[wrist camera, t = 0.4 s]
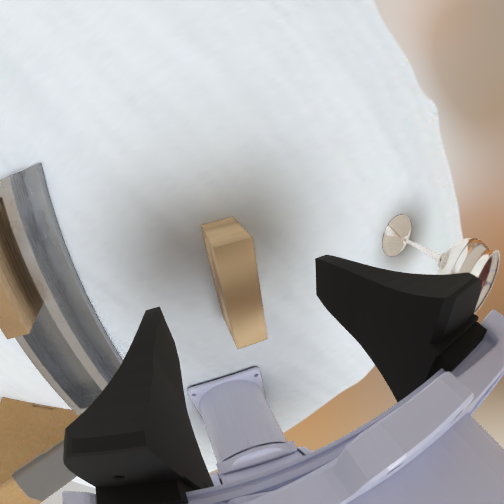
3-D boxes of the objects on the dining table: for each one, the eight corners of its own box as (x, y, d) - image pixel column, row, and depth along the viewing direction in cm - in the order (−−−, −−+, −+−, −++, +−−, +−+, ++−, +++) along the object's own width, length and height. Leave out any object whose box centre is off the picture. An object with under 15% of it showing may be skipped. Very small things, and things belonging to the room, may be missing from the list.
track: (138, 385, 24) (142, 427, 19) (69, 398, 21) (65, 436, 17) (41, 162, 14) (6, 173, 9) (-37, 205, 12) (-73, 227, 7)
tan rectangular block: (248, 307, 24) (267, 338, 20) (222, 315, 24) (237, 349, 20) (231, 216, 20) (252, 237, 16) (200, 224, 20) (213, 247, 16)
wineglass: (396, 195, 25) (495, 236, 15) (422, 222, 28) (503, 263, 18) (366, 252, 26) (457, 312, 16) (396, 271, 30) (471, 323, 19)
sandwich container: (120, 444, 27) (135, 539, 14) (25, 430, 21) (20, 517, 8) (109, 411, 24) (121, 530, 11) (1, 394, 18) (-16, 495, 5)
